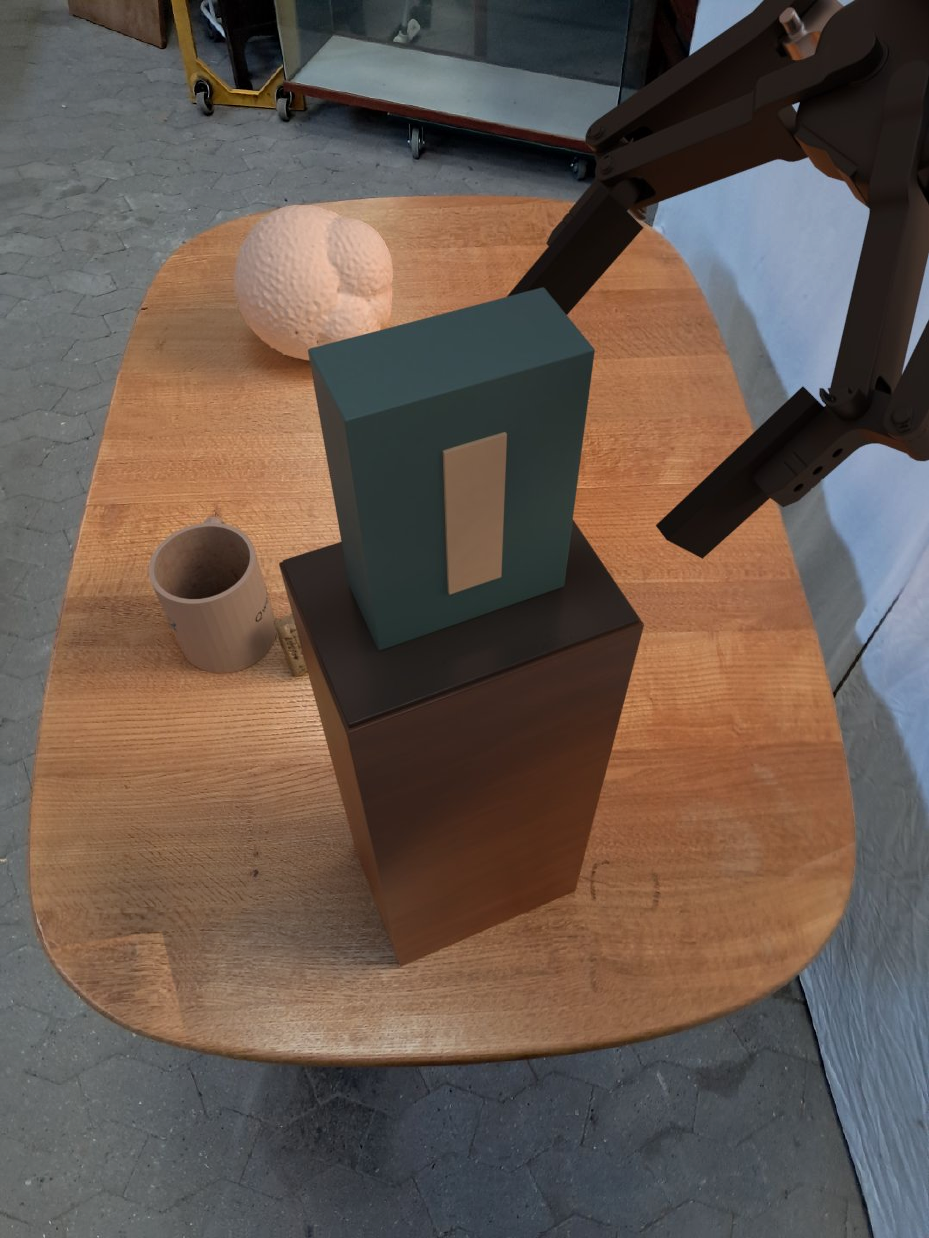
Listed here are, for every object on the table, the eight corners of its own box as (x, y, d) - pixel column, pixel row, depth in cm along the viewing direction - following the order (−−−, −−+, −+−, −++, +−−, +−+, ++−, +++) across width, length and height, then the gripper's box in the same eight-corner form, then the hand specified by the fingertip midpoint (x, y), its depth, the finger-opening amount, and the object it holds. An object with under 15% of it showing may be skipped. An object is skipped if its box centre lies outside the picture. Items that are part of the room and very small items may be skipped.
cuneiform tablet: (429, 647, 81) (302, 700, 77) (408, 618, 84) (285, 667, 80) (419, 587, 76) (283, 640, 72) (398, 558, 79) (266, 608, 76)
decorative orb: (247, 300, 112) (218, 172, 99) (390, 286, 113) (380, 158, 100) (250, 407, 100) (218, 277, 87) (410, 389, 101) (401, 259, 89)
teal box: (566, 589, 41) (598, 352, 31) (379, 654, 39) (346, 423, 29) (526, 527, 43) (544, 286, 33) (348, 585, 41) (306, 348, 31)
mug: (265, 676, 79) (241, 607, 71) (169, 669, 79) (134, 600, 71) (293, 568, 86) (274, 493, 78) (204, 562, 87) (177, 488, 79)
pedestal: (575, 890, 67) (645, 620, 40) (399, 967, 64) (345, 730, 37) (518, 778, 73) (546, 473, 46) (353, 843, 70) (277, 558, 42)
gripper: (1467, 173, 24) (814, 679, 32) (858, -112, 37) (514, 297, 46) (1525, -34, 18) (719, 643, 27) (786, -280, 32) (410, 222, 40)
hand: (589, 426), depth 36 cm, fingers open, 13 cm apart
